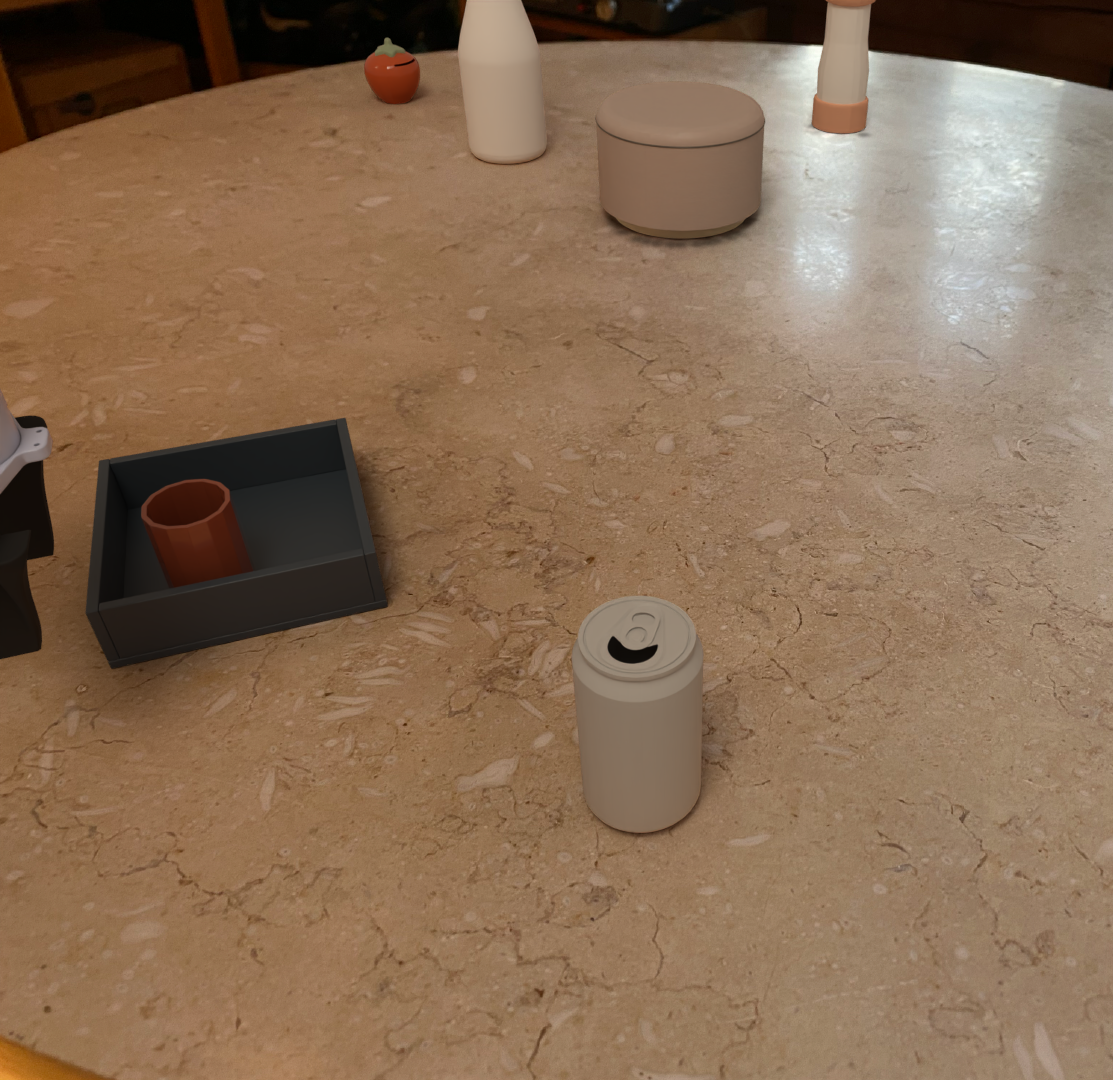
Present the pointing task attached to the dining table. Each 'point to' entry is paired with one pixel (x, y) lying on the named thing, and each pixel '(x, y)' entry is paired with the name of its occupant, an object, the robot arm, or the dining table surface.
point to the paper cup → (196, 532)
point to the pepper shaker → (843, 68)
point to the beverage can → (639, 712)
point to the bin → (270, 532)
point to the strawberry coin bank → (392, 73)
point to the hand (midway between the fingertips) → (26, 601)
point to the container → (680, 158)
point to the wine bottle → (501, 82)
